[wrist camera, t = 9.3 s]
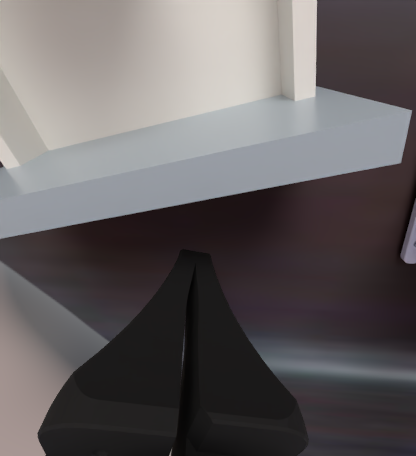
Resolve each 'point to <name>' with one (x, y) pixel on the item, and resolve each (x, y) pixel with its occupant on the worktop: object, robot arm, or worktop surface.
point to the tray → (169, 107)
